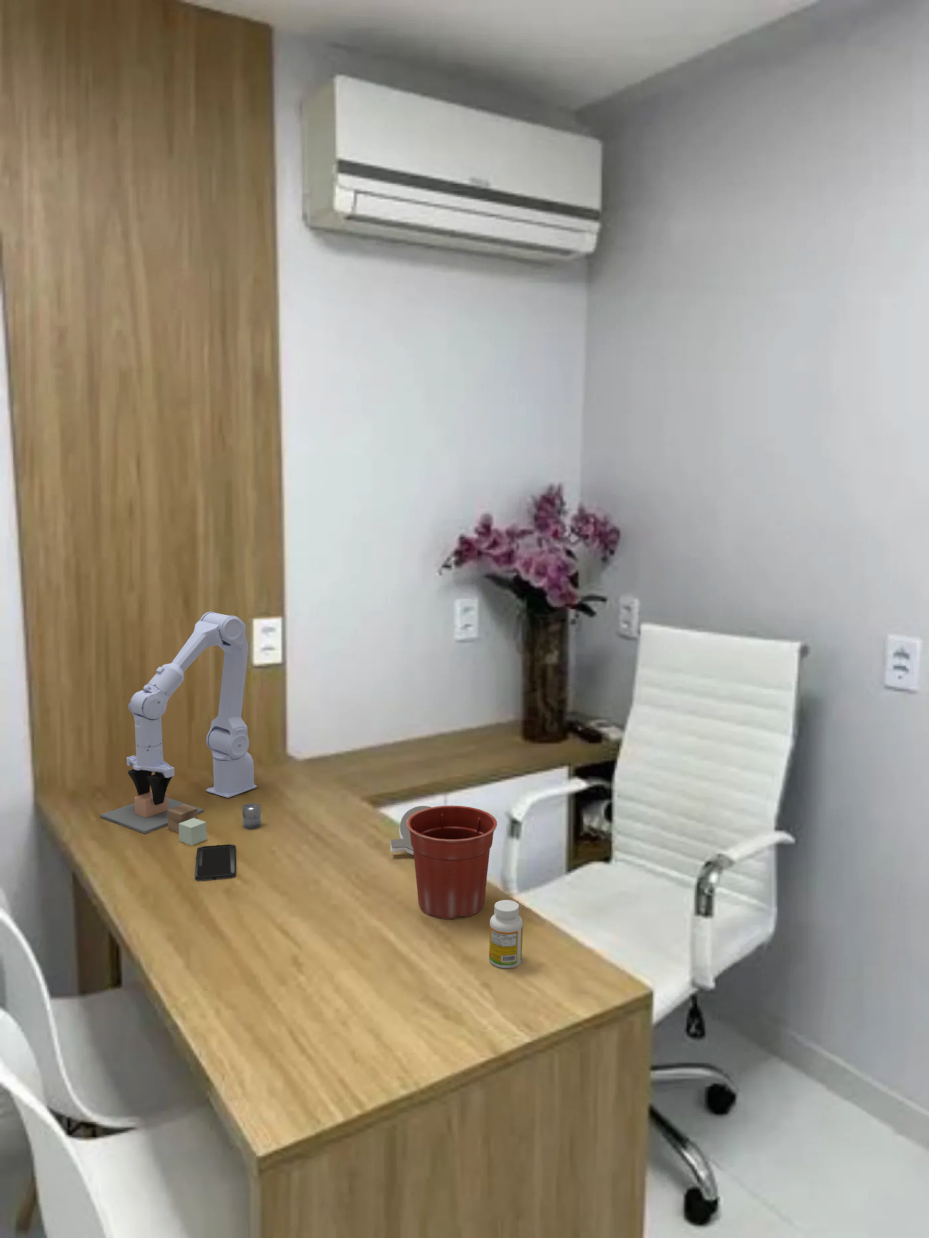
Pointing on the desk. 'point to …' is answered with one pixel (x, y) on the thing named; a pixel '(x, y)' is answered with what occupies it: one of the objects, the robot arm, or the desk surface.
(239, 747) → the robot arm
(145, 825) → the desk mat
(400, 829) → the grey disc with foot
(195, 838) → the square sage brick
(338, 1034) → the desk surface
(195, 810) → the walnut cube
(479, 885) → the flower pot
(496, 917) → the supplement bottle
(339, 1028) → the desk surface
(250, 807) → the metal cylinder
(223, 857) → the phone
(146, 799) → the terracotta brick
